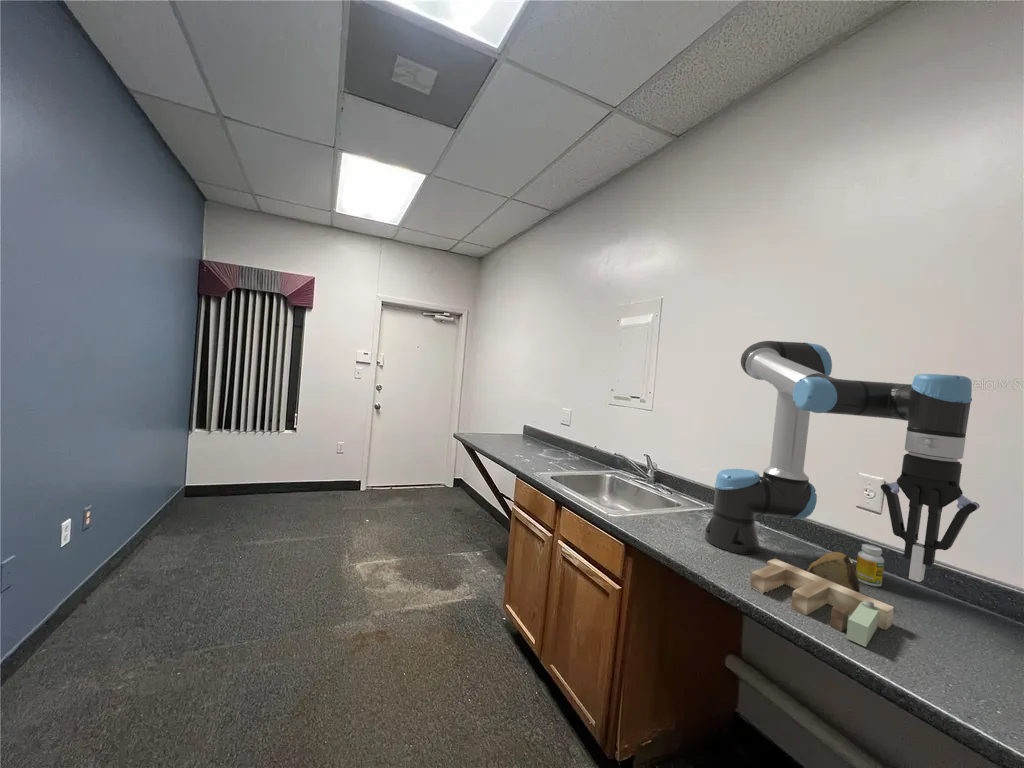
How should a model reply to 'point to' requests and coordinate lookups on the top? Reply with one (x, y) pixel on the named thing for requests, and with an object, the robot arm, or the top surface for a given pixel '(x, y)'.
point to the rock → (836, 570)
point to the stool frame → (817, 593)
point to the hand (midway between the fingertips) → (916, 578)
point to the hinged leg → (863, 623)
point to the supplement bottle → (870, 565)
